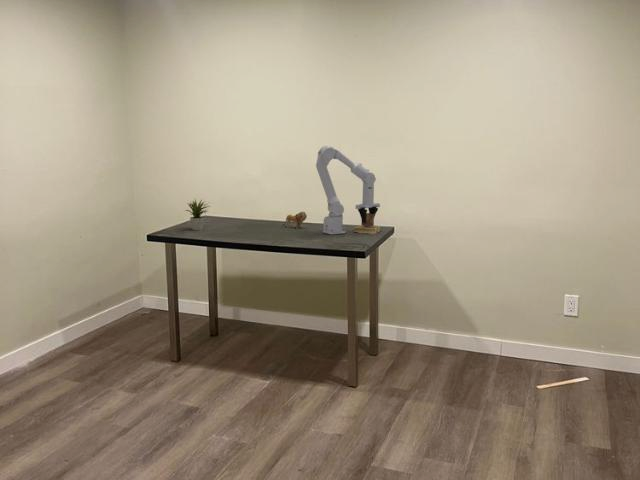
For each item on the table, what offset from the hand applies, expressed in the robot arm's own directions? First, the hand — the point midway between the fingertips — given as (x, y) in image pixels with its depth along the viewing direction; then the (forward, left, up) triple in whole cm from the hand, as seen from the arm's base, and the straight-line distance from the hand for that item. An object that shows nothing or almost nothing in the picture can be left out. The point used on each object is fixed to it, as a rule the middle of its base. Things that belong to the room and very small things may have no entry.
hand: (367, 221), depth 309 cm
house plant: (-72, +52, -5) cm, 89 cm away
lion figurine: (-25, +31, -5) cm, 40 cm away
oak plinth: (0, 0, -5) cm, 5 cm away
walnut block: (0, 0, -2) cm, 2 cm away
